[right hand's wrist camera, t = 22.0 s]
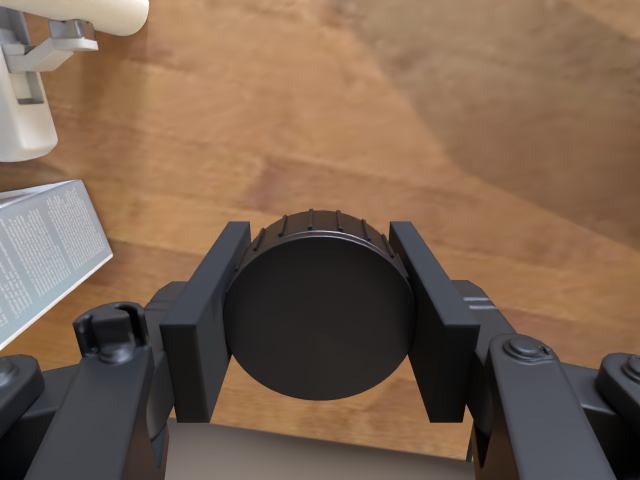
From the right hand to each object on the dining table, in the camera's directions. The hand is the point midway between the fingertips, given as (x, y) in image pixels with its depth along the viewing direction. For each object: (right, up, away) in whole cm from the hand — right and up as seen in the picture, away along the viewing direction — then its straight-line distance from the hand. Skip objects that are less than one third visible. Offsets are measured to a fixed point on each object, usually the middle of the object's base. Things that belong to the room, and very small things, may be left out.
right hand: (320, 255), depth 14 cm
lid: (0, -2, -4) cm, 4 cm away
